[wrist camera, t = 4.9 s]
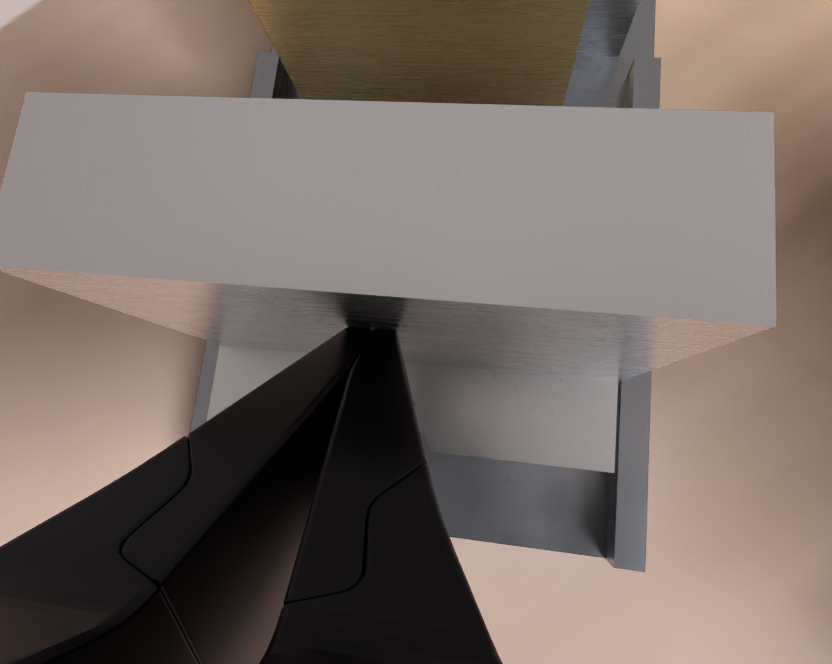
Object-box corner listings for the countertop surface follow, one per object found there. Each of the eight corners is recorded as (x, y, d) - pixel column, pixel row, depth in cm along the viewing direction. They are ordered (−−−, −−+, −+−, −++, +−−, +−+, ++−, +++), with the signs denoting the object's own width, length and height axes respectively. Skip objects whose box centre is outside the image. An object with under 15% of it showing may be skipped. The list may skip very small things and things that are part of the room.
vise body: (624, 551, 14) (777, 678, 7) (214, 496, 16) (-14, 552, 9) (644, -4, 17) (767, -325, 10) (297, -4, 19) (182, -281, 12)
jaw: (594, 467, 14) (778, 523, 5) (241, 426, 15) (-59, 419, 7) (602, 297, 14) (774, 112, 6) (266, 272, 16) (26, 91, 7)
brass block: (542, 186, 15) (626, -138, 7) (343, 177, 16) (182, -124, 7) (551, 64, 16) (637, -376, 7) (359, 61, 17) (230, -341, 8)
